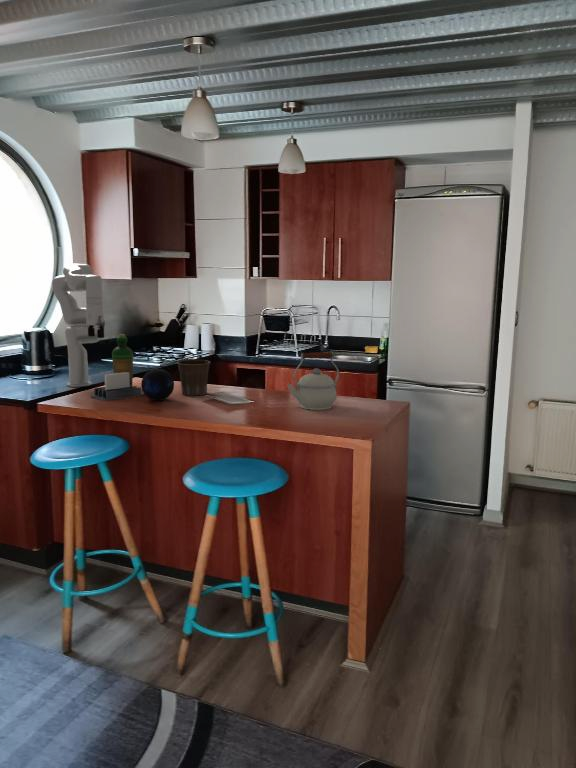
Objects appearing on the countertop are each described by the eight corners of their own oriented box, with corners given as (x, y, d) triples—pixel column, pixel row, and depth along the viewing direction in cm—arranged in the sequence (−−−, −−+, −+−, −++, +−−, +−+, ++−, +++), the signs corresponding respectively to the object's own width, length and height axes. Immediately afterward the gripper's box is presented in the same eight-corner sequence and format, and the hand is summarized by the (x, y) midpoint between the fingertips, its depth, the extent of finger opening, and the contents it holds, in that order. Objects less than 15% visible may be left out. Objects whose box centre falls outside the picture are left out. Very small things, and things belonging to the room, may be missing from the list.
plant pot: (205, 397, 302) (204, 364, 300) (173, 396, 305) (172, 363, 302) (214, 391, 318) (214, 360, 315) (183, 390, 321) (183, 359, 318)
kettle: (329, 401, 296) (330, 349, 291) (346, 409, 279) (348, 354, 275) (279, 405, 287) (280, 351, 283) (294, 413, 270) (295, 356, 266)
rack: (90, 396, 303) (89, 388, 302) (130, 391, 317) (130, 383, 317) (103, 401, 293) (103, 392, 292) (145, 395, 307) (145, 387, 307)
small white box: (105, 395, 302) (104, 374, 300) (127, 392, 310) (127, 372, 308) (107, 395, 300) (106, 375, 298) (129, 392, 308) (129, 372, 306)
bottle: (109, 389, 321) (106, 335, 316) (120, 386, 331) (118, 333, 326) (127, 390, 318) (125, 335, 313) (138, 387, 328) (136, 333, 323)
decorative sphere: (138, 403, 288) (137, 371, 285) (145, 397, 302) (144, 366, 300) (171, 403, 288) (171, 371, 286) (176, 397, 303) (175, 366, 300)
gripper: (79, 301, 304) (80, 336, 307) (95, 302, 292) (97, 339, 295) (93, 300, 309) (95, 335, 312) (110, 302, 297) (111, 338, 300)
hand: (96, 337), depth 304 cm, fingers open, 9 cm apart
